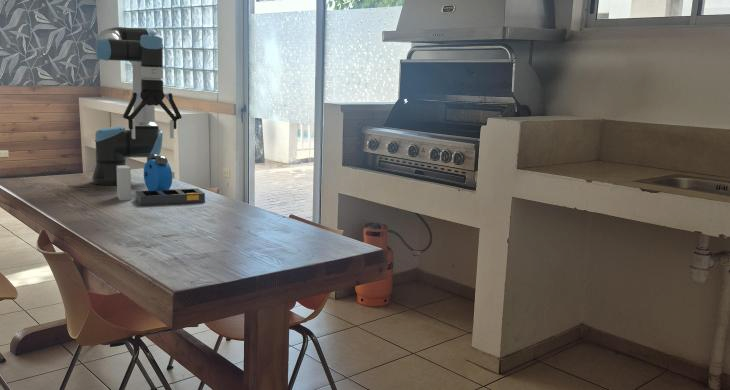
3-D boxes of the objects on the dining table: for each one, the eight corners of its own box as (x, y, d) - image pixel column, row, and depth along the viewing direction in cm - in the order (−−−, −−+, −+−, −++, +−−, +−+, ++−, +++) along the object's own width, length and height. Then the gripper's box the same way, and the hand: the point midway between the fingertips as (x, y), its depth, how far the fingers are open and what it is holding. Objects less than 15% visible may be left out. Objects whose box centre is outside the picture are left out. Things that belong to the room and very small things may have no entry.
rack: (135, 200, 247) (135, 190, 247) (197, 197, 258) (197, 187, 257) (141, 206, 238) (140, 196, 237) (205, 202, 248) (205, 193, 248)
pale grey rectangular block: (117, 196, 252) (116, 165, 250) (128, 196, 254) (127, 165, 251) (119, 200, 246) (118, 168, 243) (131, 199, 248) (130, 168, 245)
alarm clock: (173, 194, 261) (172, 156, 259) (158, 195, 257) (157, 157, 254) (157, 189, 271) (156, 152, 268) (143, 190, 266) (142, 153, 264)
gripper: (117, 78, 229) (118, 139, 233) (189, 80, 241) (189, 139, 245) (113, 77, 235) (115, 137, 239) (184, 79, 247) (184, 136, 251)
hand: (153, 138), depth 242 cm, fingers open, 13 cm apart
